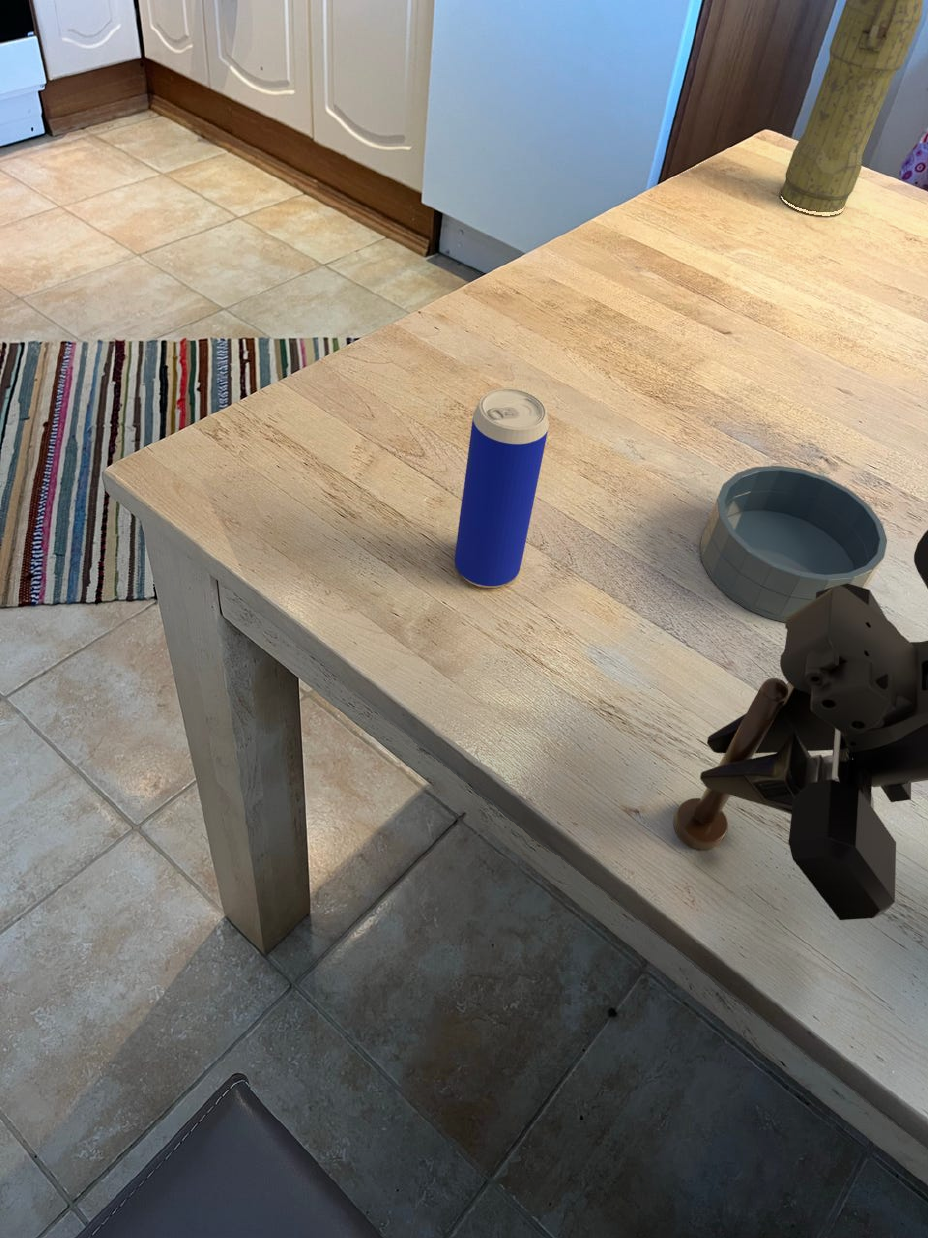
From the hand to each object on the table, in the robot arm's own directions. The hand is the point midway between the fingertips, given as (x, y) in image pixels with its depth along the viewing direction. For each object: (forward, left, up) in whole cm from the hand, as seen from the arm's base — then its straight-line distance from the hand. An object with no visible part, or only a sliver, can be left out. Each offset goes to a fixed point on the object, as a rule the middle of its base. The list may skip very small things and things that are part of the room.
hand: (706, 762), depth 55 cm
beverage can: (+20, -15, -7) cm, 26 cm away
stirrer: (-1, 0, -7) cm, 7 cm away
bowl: (-1, -27, -7) cm, 28 cm away
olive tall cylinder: (+9, -102, -7) cm, 103 cm away
